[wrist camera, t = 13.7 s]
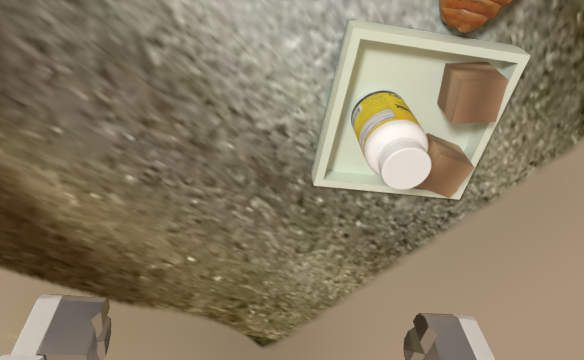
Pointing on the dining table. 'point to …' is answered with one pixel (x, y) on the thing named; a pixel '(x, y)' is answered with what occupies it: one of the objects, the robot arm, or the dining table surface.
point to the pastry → (469, 12)
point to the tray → (402, 96)
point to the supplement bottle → (391, 139)
